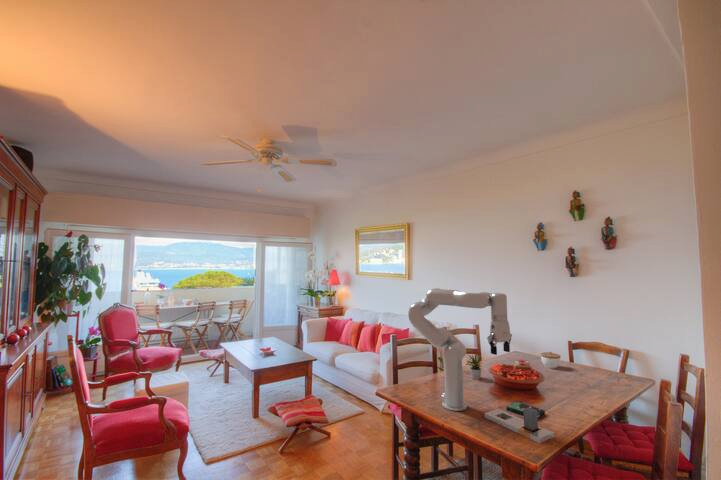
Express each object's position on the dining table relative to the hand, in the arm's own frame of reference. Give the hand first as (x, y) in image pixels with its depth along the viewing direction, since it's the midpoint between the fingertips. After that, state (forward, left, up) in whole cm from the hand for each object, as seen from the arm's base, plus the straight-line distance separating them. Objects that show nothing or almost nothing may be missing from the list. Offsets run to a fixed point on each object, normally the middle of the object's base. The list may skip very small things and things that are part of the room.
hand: (500, 352), depth 170 cm
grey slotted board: (+11, -4, -30) cm, 32 cm away
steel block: (+18, -4, -30) cm, 35 cm away
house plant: (-47, +34, -31) cm, 66 cm away
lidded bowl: (-35, +100, -31) cm, 110 cm away
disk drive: (+3, +13, -31) cm, 34 cm away
